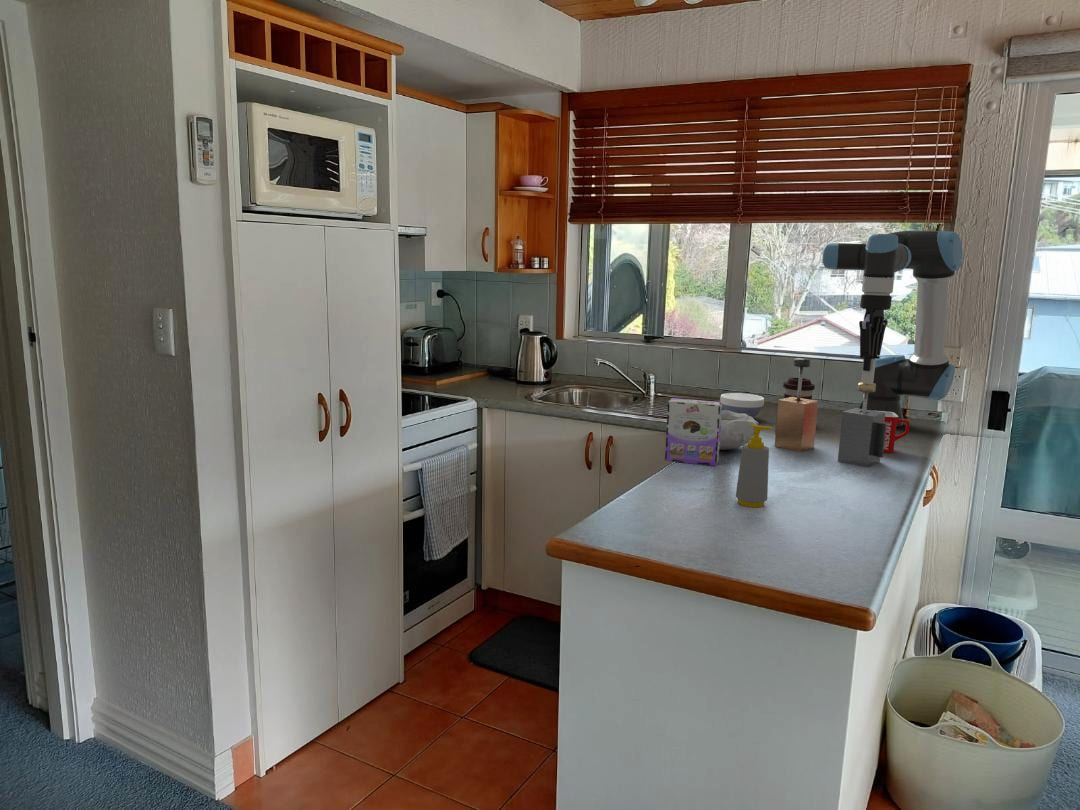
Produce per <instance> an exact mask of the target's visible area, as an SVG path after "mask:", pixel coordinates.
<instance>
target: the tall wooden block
mask: <svg viewBox="0 0 1080 810" xmlns="http://www.w3.org/2000/svg"><path fill="white" fill-rule="evenodd" d="M777 401H778V402H777V409H776V421H775V430H774V436H775V437H774V447H776V448H777V447H778V448H781V449H787V450H791V451H795V452H804V451H807V450H810V449H812V448H815V440H816V430H817V429H816V428H817V421H818V420H817V419H818V409H819V400H817V399H816V400H815V399H812V400H810V399H803V398H800V401H797V397H789V398H784V397H783V398H782V399H781V398H780V399H778V400H777Z"/></svg>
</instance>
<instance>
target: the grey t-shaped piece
mask: <svg viewBox="0 0 1080 810" xmlns="http://www.w3.org/2000/svg"><path fill="white" fill-rule="evenodd" d="M793 366H794V367H799V370H798V372H799V373H798V378H799V380H798V391H797V401H800V398H801V387H802V378H803V376H804V375H803V374H804V368H810V367H811V359H810V358H803V357H794V359H793Z"/></svg>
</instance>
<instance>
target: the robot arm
mask: <svg viewBox="0 0 1080 810" xmlns="http://www.w3.org/2000/svg"><path fill="white" fill-rule="evenodd" d="M962 244H963V243H962V241H961V237H960V235H959V234H958V233H957V232H955V231H949V230H948V231H946V230H942V229H941V230H901V231H900V230H899V231H894V232H890V233H889V232H888V233H873V234H872V233H871V234H869V236H867V239H864V240H855V241H854V240H853V241H848V242H847V241H845V242H844V241H841V242H839V241H835V242H834V241H833V242H832V241H831V242H828V243H826V244H825V246H824V247H823V250H822V254H821V255H822V257H821V261H822V265H823V267H824V268H826V269H828V270H835V271H836V270H840V271H843V270H845V271H846V270H849V271H851V270H852V271H863V276H862V277H863V278H862V280H861V282H860V283H861V285H862V287H861V292H862V293H863V294H861V296H860V301H859V302H860V304H859V305H860V306H859V307H860V309H863V310H865V312H864V315H863V320H860V321H859V323H858V326H859V358H860V359H863V360H862V368H861V369H862V371H861V377H860V378H861V379H860V382H862V383H870V384H872V383H874V384H876V388H875V392H868V399H867V408H866V410H871V411H886V412H893V413H895V414H896V415H898V419H901V420H904V415H903V410H902V406H901V396H907V397H908V396H909V397H914V398H922V399H928V400H943V399H945V398H946V397H947V395H948V394H949V392H950V389H951V387H952V384H953V381H954V378H955V370H956V368H955V364H951V363H950V357H949V355H947V354H946V353H945V342H946V329H947V327H946V326H947V312H948V311H947V310H948V297H949V296H948V295H949V293H948V292H949V281H950V279H952V278H953V277H954V276H955V272H956V271H958V270H959V269H960V268H961V266H962V263H963V262H962V260H963V246H962ZM907 269H908V270H912V277H913V278H915V280H917V290H916V291H917V293H916V311H915V312H916V314H915V333H914V334H915V335H914V338H915V339H914V352H912V354H911V355H910V356H909V357H908V359H907V360H906V356H905V355H904V354H883V355H881V352H882V346H883V342H884V337H885V331H886V327H887V325H888V320H887V319H885V311H889V310H890V309H891V308H892V301H893V300H892V299H893V298H892V295H891V294H893V292H894V283H895V282H894V281H895V273H897V272H900V271H903V270H907ZM863 398H864V392H862V399H861V402H860V404H859V405H858V408H859V409H862V408H863ZM903 426H904V422H901V423H898V424H897V426H896V428H897V427H898V428H900V427H903Z"/></svg>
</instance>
